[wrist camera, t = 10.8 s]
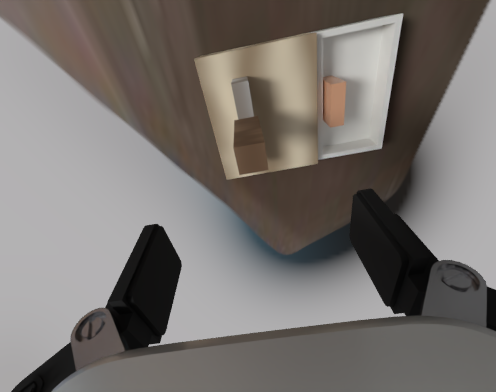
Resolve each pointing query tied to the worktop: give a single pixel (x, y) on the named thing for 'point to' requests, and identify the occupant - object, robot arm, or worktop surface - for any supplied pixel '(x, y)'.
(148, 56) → the worktop surface
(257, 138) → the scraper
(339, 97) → the block
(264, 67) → the board
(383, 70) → the box
